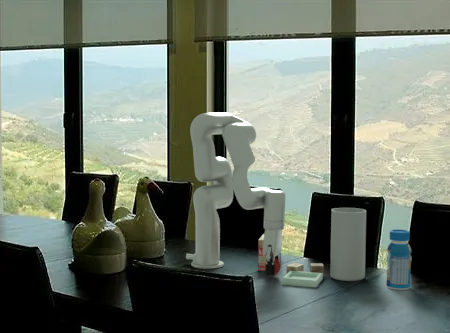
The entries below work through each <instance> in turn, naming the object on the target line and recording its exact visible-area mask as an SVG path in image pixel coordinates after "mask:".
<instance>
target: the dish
mask: <svg viewBox="0 0 450 333" xmlns="http://www.w3.org/2000/svg"><path fill="white" fill-rule="evenodd" d="M323 279H324V273H313V272H310V271H304V272H301V271H289V272H288V273H287V272H286V274H285V275H283V277H282V285H283V286H292V287H293V286H294V287H305V288H318V286H319V285H320V283H321V282H322V281H323Z"/></svg>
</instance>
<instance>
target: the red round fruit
mask: <svg viewBox="0 0 450 333" xmlns="http://www.w3.org/2000/svg"><path fill="white" fill-rule="evenodd" d="M272 256H273V255H272ZM271 259H273V258H271ZM274 265H275V275H274V276H271V277H273V278H274V277H275V276H276V275H277V274H278V273H279V272H280V271H281V267H282V266H281V261H280V262H279V261H278V259H276V258H275V260H274ZM265 270H266V263H265Z"/></svg>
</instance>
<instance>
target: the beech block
mask: <svg viewBox="0 0 450 333" xmlns="http://www.w3.org/2000/svg"><path fill="white" fill-rule="evenodd" d="M304 266H305V265H304V263H297V262H293V263H291V264H287V265H286V274H287V273H288V272H289V271H301V272H305V271H304Z"/></svg>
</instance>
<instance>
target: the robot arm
mask: <svg viewBox="0 0 450 333" xmlns="http://www.w3.org/2000/svg"><path fill="white" fill-rule="evenodd" d="M189 132H190V139H191V145H192V150H193V151H192V153H193V166H194V167H193V168H194V169H193V170H194V176H195V178H196V179H197V181H198V182H202V183H208V182H209V183H210V182H212V184H207V185H202V186H199V187H198V188H196V190H194V192H193V194H192V202H193V207H194V216H195V221H194V222H195V253H193V254H192V253H186V254H185V259H186V260H192V262H191V263H190V264H191V267H193V268H196V269H204V270H210V269H213V270H214V269H218V268H219V269H220V268H222V267H224V264H225V263H224V261H222V260H220V256H221V252H220V251H221V250H220V245H221V244H220V242H221V241H220V240H221V237H220V236H221V234H220V233H221V228H220V227H221V223H220V222H221V221H220V217H219V213H218V211H217V210H218V209H223V208H227V207H229V206H230V205H231V204H232V203H233V201H234V200H233V199H234V195H235V197H236V198H235V199H236V200H237V202H238V204H239V205H240V207H241V208H242V209H244V210H247V211H249V210H256V209H263V210H264V211H263V229H264V233H263V234H264V243H263V256H266V271H265V275H266V276H270V277H272V276H273V277H275V276H276V275H275V265H274V260H275V258H276V259H278V261H279V254H280V253H281V254H282V245H283V230H285V224H286V223H285V217H286V216H285V215H286V193H285V192H284V190H283V191H282V190H278V189H270V188H268V187H264V186H263V187H260V186H259V187H254V188H253V187H252V188H251V185H250V183H249V180H248V171H249V168H250V167H251V166H252V165H253V164H254V163H255V161H256V156H255V154H254V152H253V149H252V146H251V144H253V143H254V142H255V141H256V138H257V132H256V128H255V127H254V126H253V125H252V124H251V123H249V122H248V121H245V120H244V119H242V118H239V117H238V116H235V115H234V114H232V113H229V112H205V113H200V114H199V115H197V116H196V117H195V118H193V120H192V122H191V124H190V129H189ZM213 135H221V136H222V138H223V142H224V144H225V147H226V149H227V151H228V155H229V157H230V161H231V163H232V165H233V171H232V167H231V164H230V162H229V161H228V159H227V158H225V157H222V156H216V149H215V148H216V147H215V144H214V141H213V140H212V138H211V136H213ZM272 255H273V256H272ZM271 258H273V259H271ZM274 275H275V276H274Z"/></svg>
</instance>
